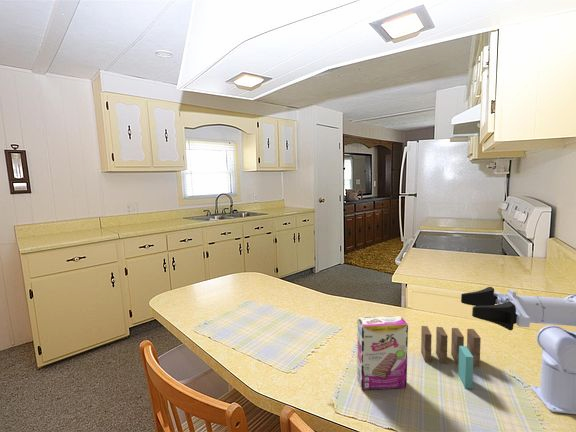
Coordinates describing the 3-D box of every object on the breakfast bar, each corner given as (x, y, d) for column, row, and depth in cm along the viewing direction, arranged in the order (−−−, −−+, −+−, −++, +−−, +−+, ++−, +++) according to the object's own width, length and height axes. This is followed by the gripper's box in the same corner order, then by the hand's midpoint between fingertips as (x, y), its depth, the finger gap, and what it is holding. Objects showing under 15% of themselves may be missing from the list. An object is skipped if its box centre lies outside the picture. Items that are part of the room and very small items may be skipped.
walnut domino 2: (442, 353, 90) (442, 327, 89) (446, 363, 85) (447, 335, 84) (436, 353, 90) (436, 326, 89) (440, 363, 85) (441, 335, 84)
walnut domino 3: (457, 355, 89) (457, 328, 88) (463, 365, 84) (463, 336, 83) (451, 354, 89) (451, 327, 88) (456, 364, 84) (457, 336, 84)
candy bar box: (362, 391, 75) (361, 326, 73) (356, 378, 80) (356, 316, 78) (408, 389, 75) (408, 323, 73) (400, 376, 80) (400, 314, 78)
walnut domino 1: (427, 352, 91) (427, 326, 90) (431, 362, 86) (431, 334, 85) (421, 352, 91) (421, 325, 90) (424, 361, 86) (425, 334, 85)
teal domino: (465, 376, 79) (466, 346, 79) (472, 389, 75) (473, 357, 74) (458, 375, 80) (459, 345, 79) (464, 388, 75) (465, 356, 74)
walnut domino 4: (472, 356, 88) (473, 329, 87) (479, 366, 83) (480, 337, 82) (466, 355, 88) (467, 328, 88) (473, 366, 84) (473, 337, 83)
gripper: (520, 281, 75) (458, 277, 78) (557, 305, 61) (479, 299, 64) (518, 309, 76) (456, 304, 79) (554, 339, 62) (477, 332, 65)
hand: (466, 304), depth 71 cm, fingers open, 7 cm apart
